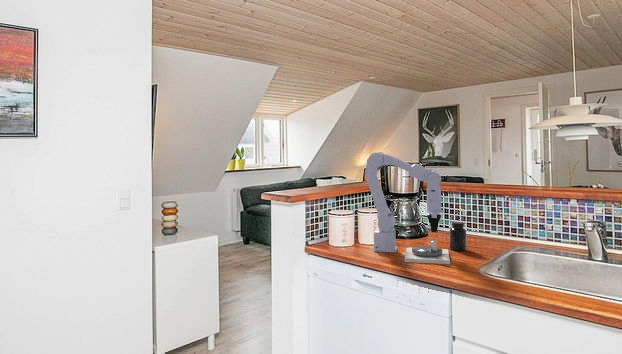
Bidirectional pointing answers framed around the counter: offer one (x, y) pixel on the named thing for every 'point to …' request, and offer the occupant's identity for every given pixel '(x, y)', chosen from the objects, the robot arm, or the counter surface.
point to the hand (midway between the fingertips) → (434, 231)
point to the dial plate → (420, 259)
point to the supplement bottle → (457, 237)
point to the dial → (427, 250)
